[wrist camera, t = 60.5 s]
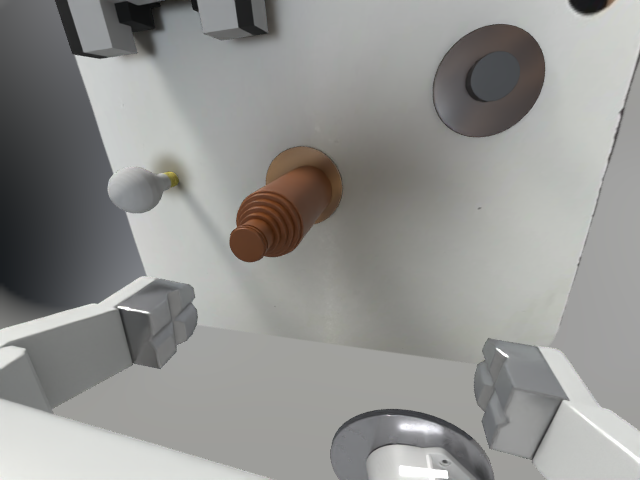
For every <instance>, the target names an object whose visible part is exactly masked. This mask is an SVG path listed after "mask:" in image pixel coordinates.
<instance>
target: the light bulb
mask: <svg viewBox="0 0 640 480" xmlns="http://www.w3.org/2000/svg"><path fill="white" fill-rule="evenodd" d="M178 182H179V180H178V177H177V175H176V174H175V173H173V172H166V173H160V174H154V173H152V172H150V171H148V170H146V169H143V168H140V167H127V168H123V169H120V170H118V171H117V172H116V173H115V174H113V176H112V177H111V178H110V180H109V183H108V194H109V197H110V199H111V200H112V202H113V203H114V204H115V205H116V206H117V207H118V208H120V209H122V210H124V211H126V212H130V213H144V212H146V211H149V210H151V209H153V208H154V207H155V206H156V205H157V204H158V203H159V201H160V199H161V197H162V194H163V191H165V190H168V189H169V188H171V187H174V186H176V185H177V184H178Z"/></svg>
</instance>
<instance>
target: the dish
mask: <svg viewBox="0 0 640 480" xmlns="http://www.w3.org/2000/svg"><path fill="white" fill-rule="evenodd" d="M497 51H504V52H508V53H510V54H512V55H513V56H514V57H515V58H516V59H517V61H518V63H519V66H520V76H519V79H518V82H517V84H516V86H515V87H514V89H513V90H512V91H511V92H510V93H509V94H508V95H506V96H505V97H503V98H501V99H499V100H497V101H488V102H481V101H477V100H474V99H473V98H472V97H471V96H470V95H469V93H468V92H467V89H466V77H467V74H468V72H469V70H470V68H471V67H472V66H473V65H474V64H475V63H476V61H477V60H479V59H481V58H483V57H485V56H486V55H487V54H489V53H493V52H497ZM544 77H545V61H544V56H543V53H542V50H541V48H540V46H539V44H538V43H537V41H536V40H535V39H534V38H533V37H532V36H531V35H530V34H529V33H528V32H526V31H525V30H523V29H521V28H518V27H516V26H512V25H506V24H495V25H489V26H485V27H482V28H479V29H477V30H474V31H472V32H470V33H469V34H467V35H466V36H464V37H463V38H462V39H460V40H459V41H458V42H457V43H456V44H455V45H454V46H453V47H452V48H451V49H450V50H449V51H448V53H447V54H446V55H445V57H444V58H443V60H442V61H441V63H440V65H439V67H438V70H437V72H436V75H435V79H434V84H433V100H434V105H435V109H436V111H437V113H438V115H439V117H440V119H441V120H442V121H443V122H444V124H445V125H446V126H448V127H449V128H450V129H451V130H453V131H455V132H457V133H459V134H461V135H465V136H469V137H486V136H491V135H495V134H498V133H500V132H503V131H505V130H507V129H509V128H510V127H512V126H513V125H515V124H516V123H517V122H519V121H520V120H521V119H522V118H523V117H524V116H525V115H526V114H527V113H528V112H529V110H530V109H531V108H532V107H533V105H534V104H535V102H536V100H537V98H538V96H539V94H540V92H541V89H542V86H543V82H544Z"/></svg>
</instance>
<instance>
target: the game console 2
mask: <svg viewBox="0 0 640 480" xmlns="http://www.w3.org/2000/svg"><path fill="white" fill-rule="evenodd" d="M159 1H163V0H55V2H56V5H57V8H58V11H59V14H60V17H61V20H62V23H63V26H64V30H65V33H66V36H67V38H68V42H69V45H70V48H71V51H72V53H73V54H75V55H81V56H87V57H92V58H98V59H101V58H108V57H115V56H121V55H128V54H135V53H137V49H136V45H135V42H134V38H133V34H132V32H137V31H143V30H148V29H154V28H155V25H154V21H153V17H152V12H151V8H154V7H160V3H159ZM191 2H192V7H193V10H195V11H197V12H199V14H200V19H201V25H202V30H203V33H204V34H206V35H209V36H211V37H214V38H217V39H219V40H227V39H234V38H240V37H247V36H253V35H260V34H267V33H268V25H267V17H266V8H265V0H191Z"/></svg>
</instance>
